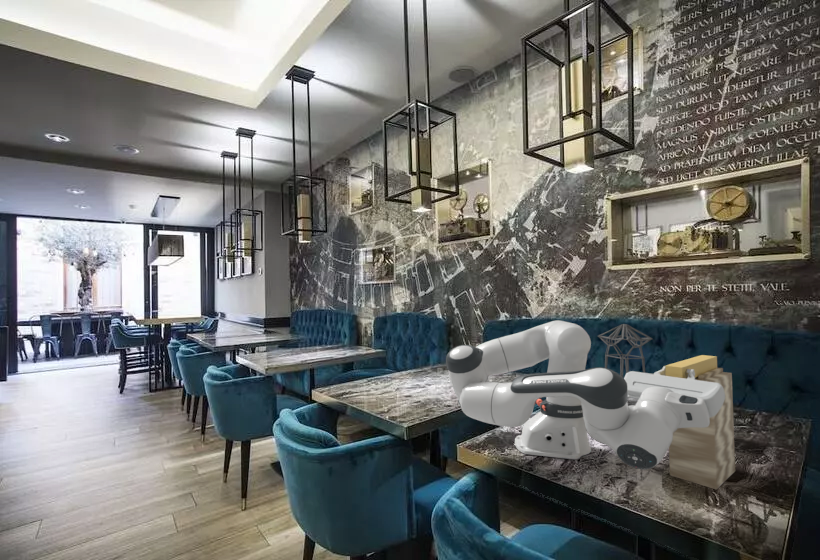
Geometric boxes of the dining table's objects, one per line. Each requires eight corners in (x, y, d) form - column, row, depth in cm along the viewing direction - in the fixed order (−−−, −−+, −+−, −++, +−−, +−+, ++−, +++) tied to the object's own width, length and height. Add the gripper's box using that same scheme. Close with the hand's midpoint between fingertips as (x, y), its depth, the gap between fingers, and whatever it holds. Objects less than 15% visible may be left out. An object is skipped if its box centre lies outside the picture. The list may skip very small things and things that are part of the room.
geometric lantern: (596, 407, 169) (594, 323, 171) (625, 404, 174) (624, 322, 176) (626, 417, 154) (624, 325, 156) (658, 414, 159) (655, 324, 161)
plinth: (716, 489, 98) (712, 377, 99) (669, 475, 106) (666, 371, 107) (735, 471, 108) (731, 369, 109) (691, 459, 116) (688, 364, 117)
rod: (682, 382, 95) (681, 367, 95) (665, 380, 98) (665, 365, 98) (717, 369, 111) (716, 356, 111) (702, 367, 114) (701, 354, 114)
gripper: (617, 408, 100) (637, 373, 108) (717, 429, 84) (732, 387, 92) (610, 387, 99) (631, 354, 106) (711, 405, 83) (727, 364, 90)
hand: (679, 369), depth 99 cm, fingers closed on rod, 3 cm apart
